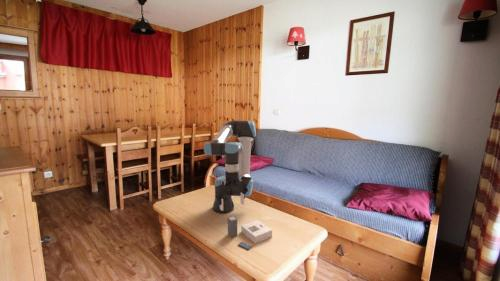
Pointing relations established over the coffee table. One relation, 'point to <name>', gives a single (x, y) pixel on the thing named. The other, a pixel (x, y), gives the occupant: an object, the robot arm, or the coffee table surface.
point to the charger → (232, 227)
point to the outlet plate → (256, 231)
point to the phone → (244, 245)
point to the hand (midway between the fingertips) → (232, 206)
